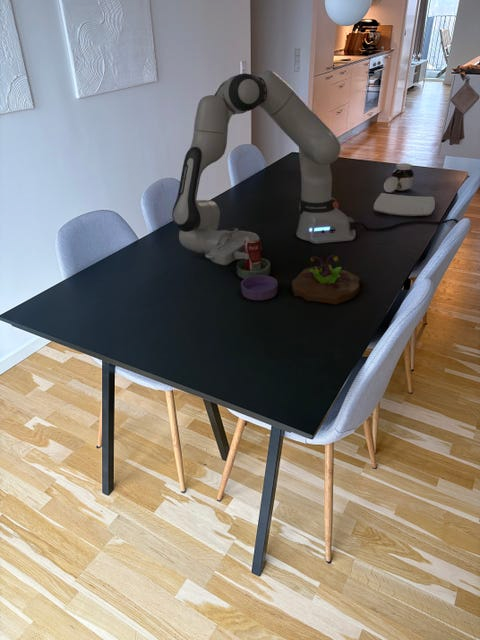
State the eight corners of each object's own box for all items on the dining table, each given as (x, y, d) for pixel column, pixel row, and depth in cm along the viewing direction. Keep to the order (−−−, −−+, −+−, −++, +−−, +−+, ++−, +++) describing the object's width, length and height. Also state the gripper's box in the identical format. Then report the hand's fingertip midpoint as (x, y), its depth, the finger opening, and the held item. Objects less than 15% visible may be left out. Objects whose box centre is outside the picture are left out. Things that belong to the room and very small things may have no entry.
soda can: (244, 269, 160) (243, 235, 154) (260, 268, 160) (259, 234, 154) (246, 276, 156) (244, 241, 149) (262, 274, 156) (261, 240, 150)
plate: (369, 215, 199) (370, 209, 197) (378, 197, 218) (379, 192, 216) (432, 221, 190) (433, 214, 189) (435, 202, 209) (436, 196, 208)
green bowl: (270, 265, 162) (270, 256, 161) (269, 280, 153) (269, 271, 151) (238, 265, 163) (237, 257, 162) (235, 280, 154) (235, 271, 152)
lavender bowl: (277, 283, 151) (277, 274, 149) (277, 301, 141) (277, 291, 140) (242, 284, 152) (242, 275, 150) (240, 301, 142) (239, 291, 141)
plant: (344, 310, 135) (347, 274, 129) (282, 295, 144) (282, 261, 139) (368, 281, 149) (371, 248, 143) (310, 269, 159) (312, 237, 153)
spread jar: (413, 189, 227) (417, 164, 220) (406, 195, 219) (410, 170, 212) (388, 186, 232) (391, 161, 226) (381, 192, 224) (384, 167, 218)
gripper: (200, 246, 152) (236, 255, 145) (237, 226, 166) (271, 232, 159) (202, 264, 155) (237, 273, 148) (237, 242, 169) (271, 250, 162)
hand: (255, 252), depth 154 cm, fingers closed on soda can, 5 cm apart
